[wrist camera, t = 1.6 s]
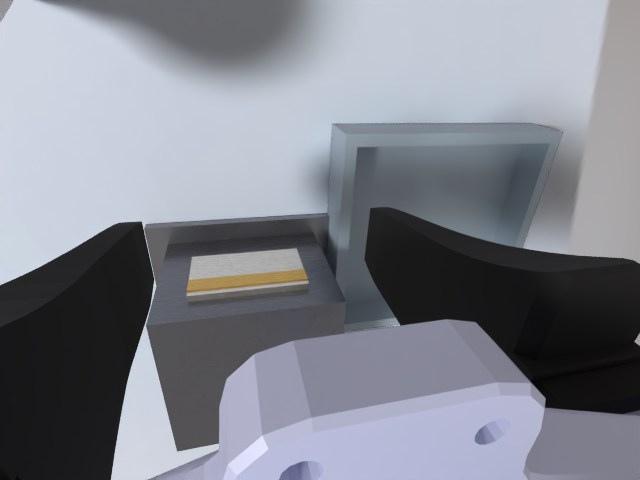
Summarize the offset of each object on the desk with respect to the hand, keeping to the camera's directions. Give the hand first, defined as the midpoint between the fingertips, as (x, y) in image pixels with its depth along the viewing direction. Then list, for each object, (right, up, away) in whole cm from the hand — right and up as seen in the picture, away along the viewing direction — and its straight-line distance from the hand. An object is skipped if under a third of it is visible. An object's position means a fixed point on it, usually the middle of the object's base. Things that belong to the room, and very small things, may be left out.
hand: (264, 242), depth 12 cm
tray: (+8, +1, +11) cm, 14 cm away
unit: (-3, -3, +11) cm, 12 cm away
